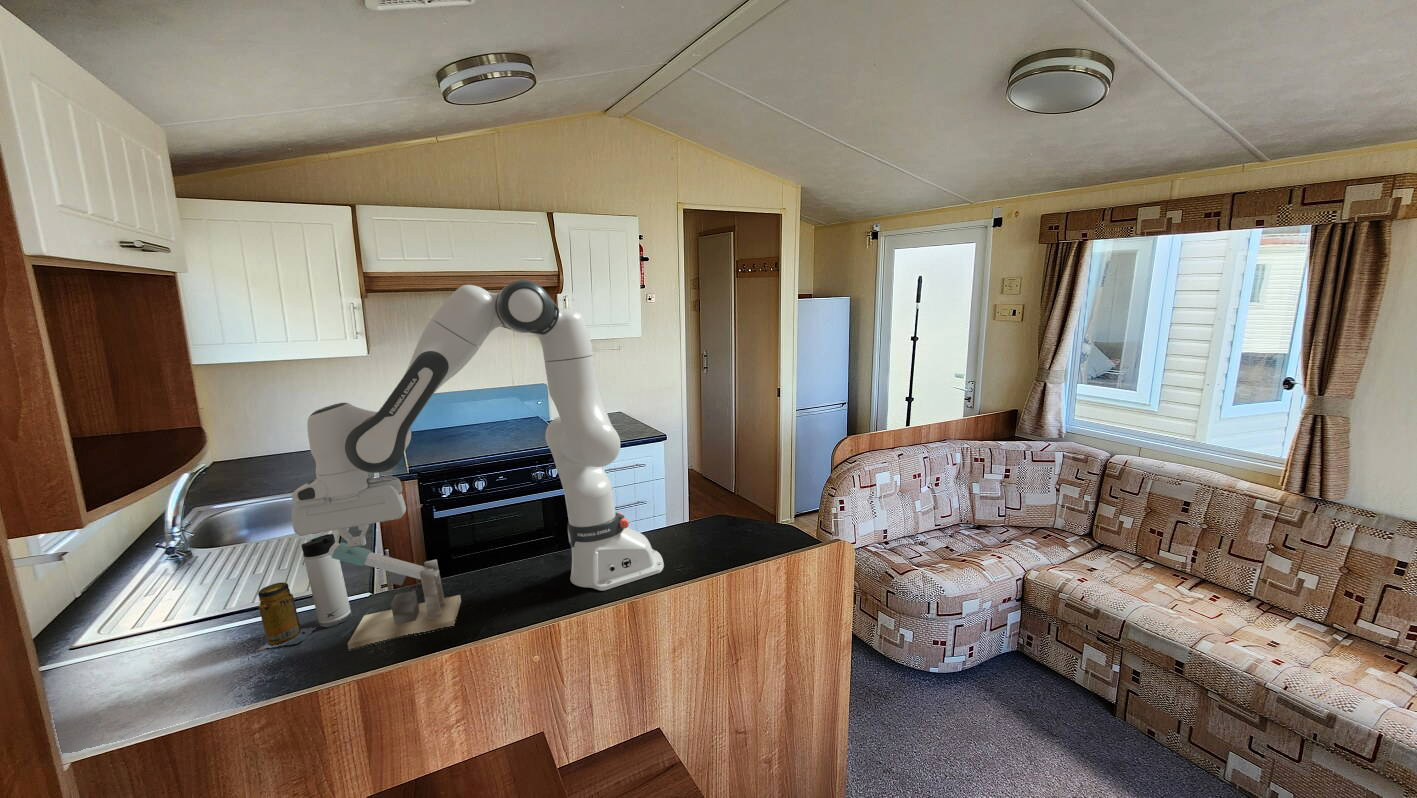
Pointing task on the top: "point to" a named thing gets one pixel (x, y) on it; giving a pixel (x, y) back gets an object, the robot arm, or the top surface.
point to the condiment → (278, 614)
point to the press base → (391, 630)
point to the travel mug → (326, 580)
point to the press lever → (378, 562)
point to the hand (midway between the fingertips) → (357, 545)
